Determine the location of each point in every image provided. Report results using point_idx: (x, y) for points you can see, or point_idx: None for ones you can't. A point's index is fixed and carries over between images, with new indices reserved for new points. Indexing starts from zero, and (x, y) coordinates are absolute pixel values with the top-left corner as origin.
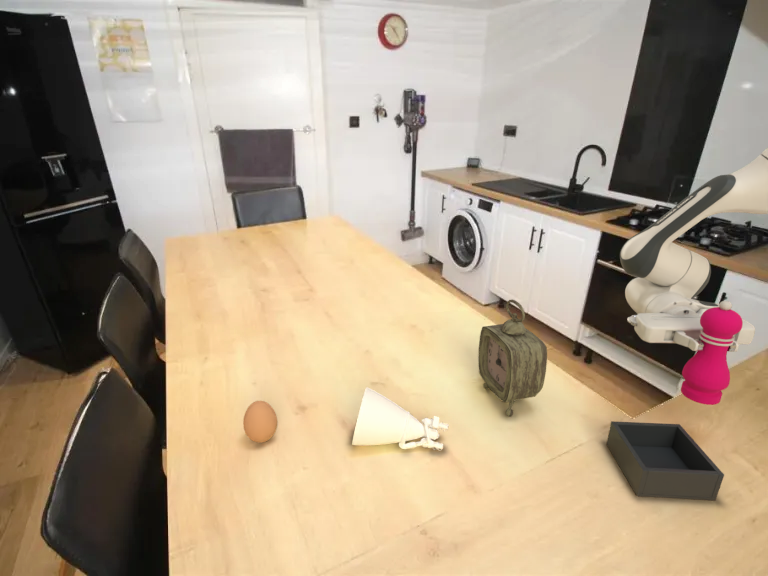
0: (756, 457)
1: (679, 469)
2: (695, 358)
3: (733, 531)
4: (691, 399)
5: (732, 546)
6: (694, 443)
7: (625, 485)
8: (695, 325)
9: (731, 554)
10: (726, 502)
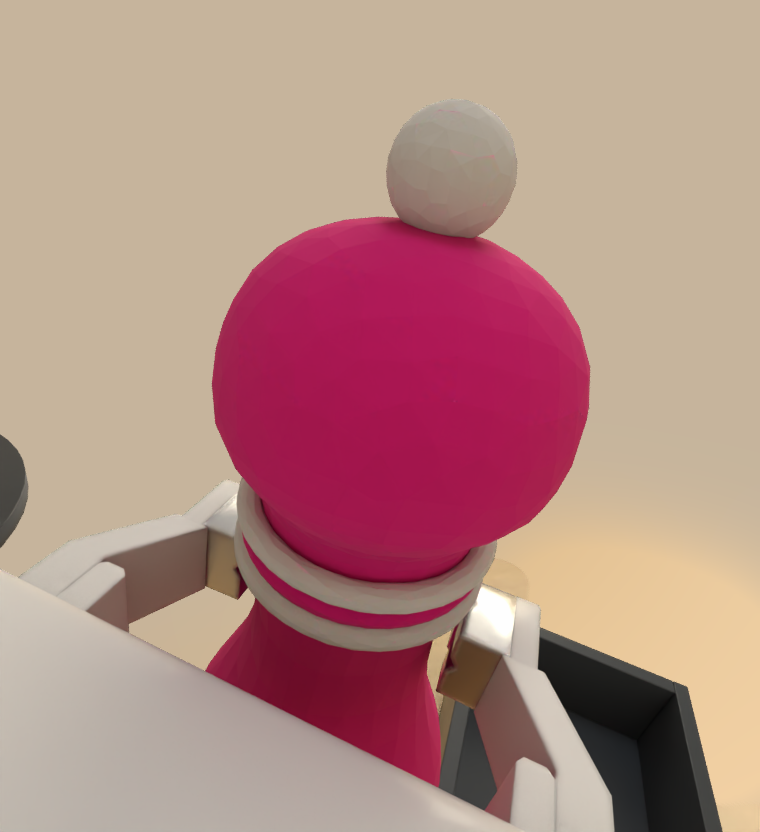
0: None
1: (582, 653)
2: (424, 717)
3: None
4: None
5: (506, 586)
6: (462, 709)
7: None
8: (287, 800)
9: (519, 580)
10: (431, 645)
